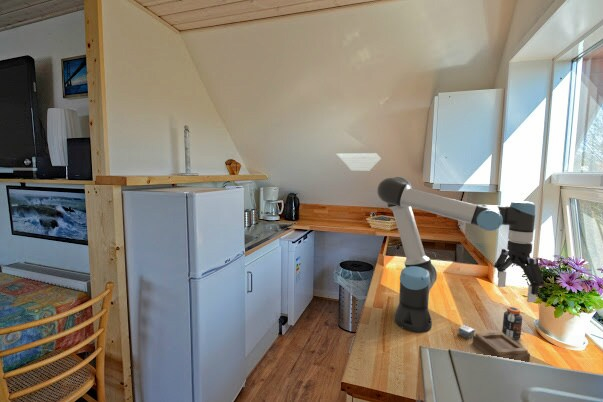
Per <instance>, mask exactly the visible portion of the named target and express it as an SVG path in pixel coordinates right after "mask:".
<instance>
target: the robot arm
mask: <svg viewBox="0 0 603 402" xmlns="http://www.w3.org/2000/svg"><path fill="white" fill-rule="evenodd" d="M376 188H377V189H376V191H377V196H378V198H379V199H380V200H381V201H382V202H384V203H386V204H387V208H388V209H389V210H391V211H392V213H393V218H394V220H395V223H396V228H397V231H398V234H399V238H400V241H401V245H402V249H403V251H404V254H405V260H404V262H403V263H404V267H403V268H402V269H401V271H400V275H399V300H398V305H397V307H396V310H395V312H394V315H393V316H394V318H393V320H395V321H394V322H395V324H396V323H397V324H398V325H397V324H396V325H397V326H399V327H400V326H401V327H400V328H402V327H403V328H402V329H404V328H405V329H404V330H406V329H407V330H406V331H409V330H410V332H413V331H414V333H425V332H428V331H430V330H431V329H432V324H433V323H432V321H433V320H432V317H431V313H430V311H429V298H430V296H429V295H430V291H431V289H432V288H433V286H434V285H435V284H436V281H437V277H438V272H437V269H436V267H435V266H434V265H433V264H432V262H431V258H430V257H429V256H427V255H426V253H425V250H424V246H423V242H422V239H421V235H420V233H419V230H418V229H419V228H418V227H417V226H418V225H417V222H416V218H415V214H414V212H413V208H414V209H416V210H417V209H418V210H420V211H424V212H428V213H431V214H435V215H438V216H441V217H445V218H449V219H452V220H456V221H460V222H463V223H466V224H470V225H473V226H477V227H479V228H480V229H482V230H484V231H486V232H487V231H488V232H491V231H492V232H493V231H497V230H498V229H499V228H501V226H502V225H504V226H508V234H507V246H506V248H502V249H501V252H500V254H499V256H498V258H497V260H496V262H495V263H494V265H493V268H494V269H496V270H497V278H498V279H497V280H498V281H497V287H499V288H505V287H506V281H507V269H508V268H509V267H511V265H516V266H518V267H520V268H521V269H522V270H523V272H524V274H525V276H526V278H527V280H528V282H529V283H530V284H528V287H527V288H528V289H527V299H526V302H528V303H536V302H537V301H536V300H537V295H539V287H545V285H546V284H545V281H544V277H543V274H542V271H541V269H540V266H539V259H538V258H537V257H531V256H530V255H531V253H532V250H533V244H532V243H533V238H534V227H535V219H536V204H535V203H534V202H531V201H522V200H519V201H518V200H517V201H516V200H515V201H511V202H510V205H493V204H492V205H491V204H485V203H484V204H475V203H470V202H466V201H461V200H457V199H454V198H449V197H445V196H442V195H439V194H435V193H430V192H426V191H424V190H423V191H422V190H419V189H414V188H412V185H411V183H410V182H409V181H408V180H407V179H406V178H404V177H399V176H395V177H388V178H384V179H382V180H381V182H380V183H379V184H378V186H377V187H376Z"/></svg>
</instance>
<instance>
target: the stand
mask: <svg viewBox="0 0 603 402" xmlns="http://www.w3.org/2000/svg"><path fill="white" fill-rule="evenodd" d="M472 344H473V345H475V346H476V347H477V348H478V349H479V350H480V351H482V352H483V353H484V354H485V355H486V356H487V355H491V356H497V357H503V358H509V359H514V360H521V361H527V362H526V363H530V358H531V353H530V352H528V349H526V347H524V346H522V345H521V344H520V343H519V342H518V341H517V342H516V341H515V339H512V338H510V337H508V336H507V335H505V334H504V333H503V332H502V331H499V332H497V331H495V332H485V333H484V332H483V333H482V332H481V333H474V335H473V337H472Z"/></svg>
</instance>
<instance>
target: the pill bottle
mask: <svg viewBox="0 0 603 402" xmlns="http://www.w3.org/2000/svg"><path fill="white" fill-rule="evenodd" d="M520 313H521V310H520V309H519V308H517V307H515V306H507V310H506V311H505V312H503V318H502V319H503V320H502V330H501V332H503V333H504V334H505V335H507V336H508V337H510V338H511V339H513V340H519V339H521V335H522V326H523V316H522V315H521V314H520Z"/></svg>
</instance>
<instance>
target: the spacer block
mask: <svg viewBox="0 0 603 402" xmlns="http://www.w3.org/2000/svg"><path fill="white" fill-rule="evenodd" d="M457 335H459V336H462V338H465V339H467V340H470V339H471V338H473V335H475V328H473V327H470V326H468V325H466V324H463V325H461V326H459V327H458V334H457Z"/></svg>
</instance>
